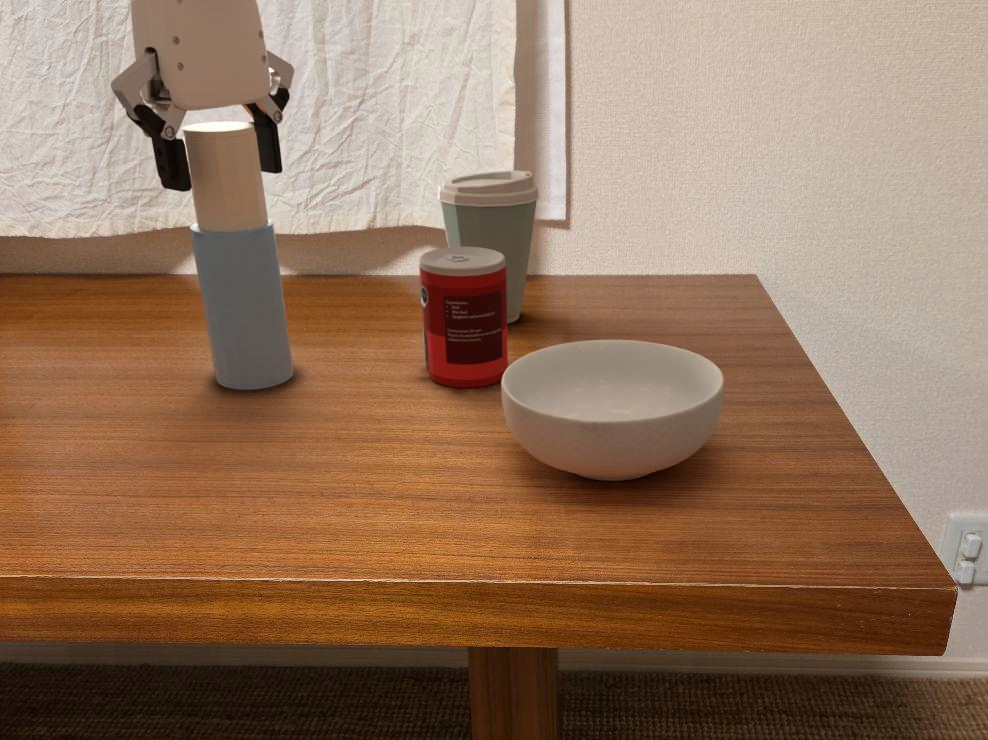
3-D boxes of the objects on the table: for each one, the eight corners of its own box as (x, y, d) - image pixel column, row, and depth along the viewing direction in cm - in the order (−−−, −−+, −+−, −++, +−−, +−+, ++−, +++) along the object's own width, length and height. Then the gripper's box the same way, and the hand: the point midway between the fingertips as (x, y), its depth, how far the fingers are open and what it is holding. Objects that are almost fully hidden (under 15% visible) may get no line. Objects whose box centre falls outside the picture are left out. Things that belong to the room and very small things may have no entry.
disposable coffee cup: (433, 331, 106) (424, 182, 99) (452, 301, 116) (446, 163, 108) (533, 334, 105) (532, 184, 98) (544, 303, 114) (544, 165, 107)
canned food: (460, 354, 100) (455, 242, 94) (525, 370, 96) (523, 254, 90) (408, 377, 95) (399, 259, 89) (475, 395, 91) (470, 273, 85)
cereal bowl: (569, 402, 89) (570, 325, 85) (748, 442, 82) (758, 359, 78) (460, 477, 76) (456, 389, 73) (660, 531, 69) (666, 437, 65)
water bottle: (250, 395, 91) (217, 188, 82) (201, 379, 94) (164, 178, 85) (308, 373, 96) (283, 174, 87) (259, 358, 99) (230, 166, 90)
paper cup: (228, 235, 85) (212, 133, 81) (184, 226, 88) (167, 127, 84) (281, 222, 89) (268, 125, 85) (237, 214, 92) (223, 119, 88)
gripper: (245, -51, 86) (273, 161, 94) (57, -53, 73) (108, 192, 82) (306, -52, 82) (329, 170, 90) (119, -54, 70) (166, 203, 78)
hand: (224, 180), depth 86 cm, fingers open, 9 cm apart
